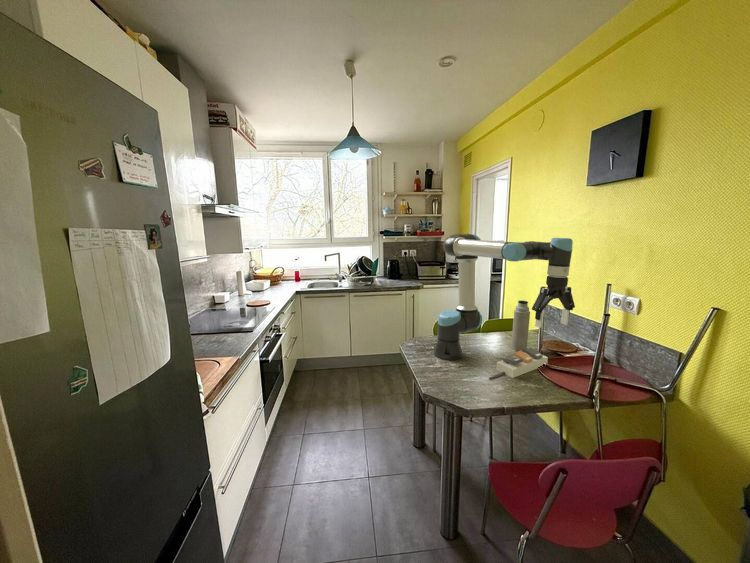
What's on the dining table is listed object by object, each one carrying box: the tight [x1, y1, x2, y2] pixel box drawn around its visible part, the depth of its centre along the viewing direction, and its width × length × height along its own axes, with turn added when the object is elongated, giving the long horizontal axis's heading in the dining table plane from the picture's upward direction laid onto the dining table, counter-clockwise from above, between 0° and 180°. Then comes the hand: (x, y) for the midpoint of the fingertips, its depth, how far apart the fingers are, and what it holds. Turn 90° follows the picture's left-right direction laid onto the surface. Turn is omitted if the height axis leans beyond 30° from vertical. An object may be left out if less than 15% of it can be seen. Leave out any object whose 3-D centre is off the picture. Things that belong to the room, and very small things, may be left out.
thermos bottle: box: [510, 300, 531, 353], centre depth 165 cm, size 8×8×28 cm
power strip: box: [488, 352, 549, 380], centre depth 142 cm, size 9×38×5 cm, turn 120°
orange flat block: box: [513, 351, 533, 363], centre depth 144 cm, size 7×5×2 cm
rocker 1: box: [502, 356, 523, 364], centre depth 140 cm, size 7×5×2 cm
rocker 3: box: [524, 347, 544, 359], centre depth 148 cm, size 7×5×2 cm
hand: (551, 325), depth 124 cm, fingers open, 13 cm apart
